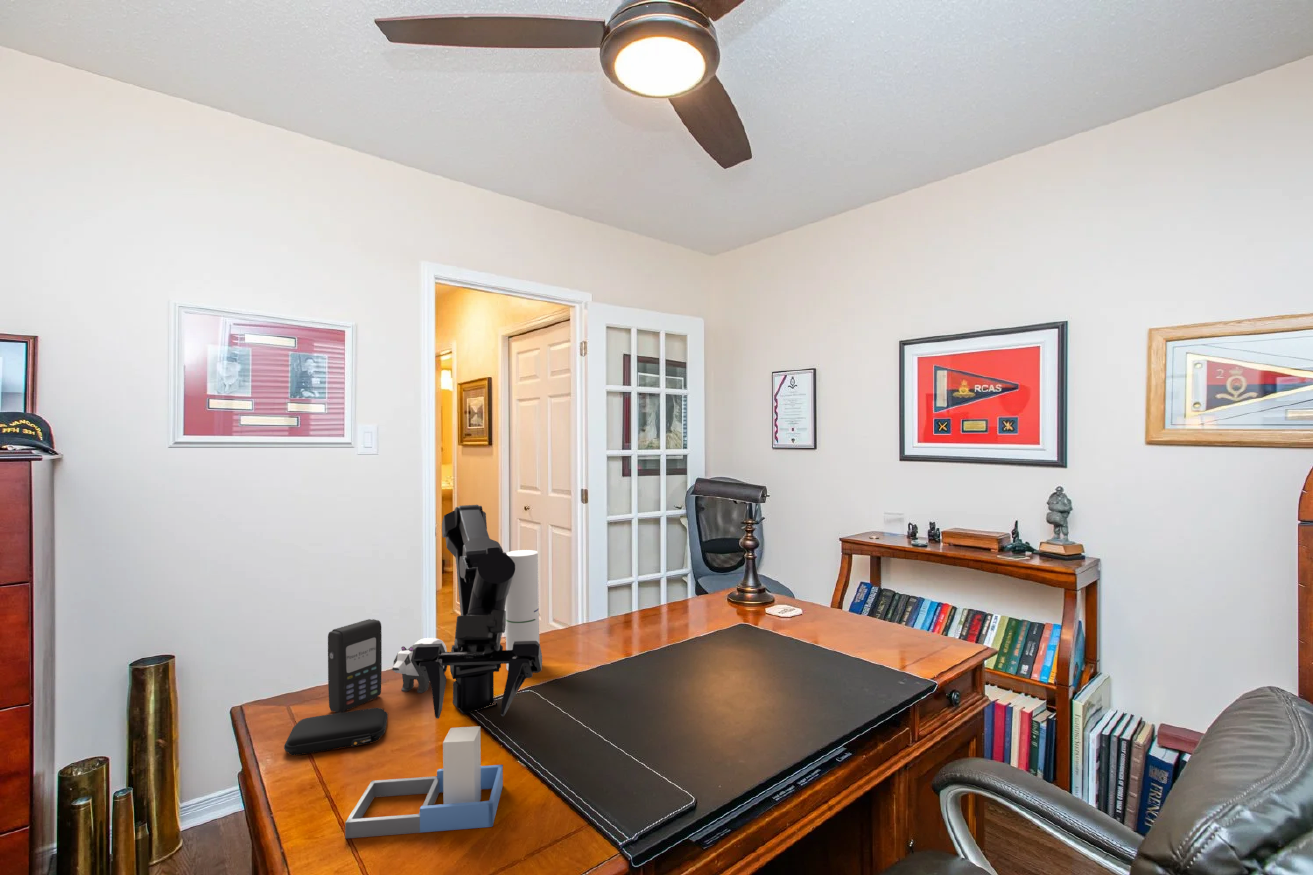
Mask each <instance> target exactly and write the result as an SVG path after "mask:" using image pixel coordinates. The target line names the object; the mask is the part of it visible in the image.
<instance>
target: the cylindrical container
mask: <svg viewBox="0 0 1313 875" xmlns="http://www.w3.org/2000/svg"><path fill="white" fill-rule="evenodd" d="M506 554H507V555H508V556H509V557H510V558H511V559H512V560H513V562H514V563H515V572H514V576H513V579H512V583H511V586H510V589H509V593H508V595H507V597H506V605H505V611H506V627H505V650H513V644H514V641H537V642H538V643H539V644H540V608H539V607H540V604H539V603H540V602H539V601H540V600H539V599H540V598H539V596H540V595H539V552H538V551H537V550H534V549H519V550H518V549H517V550H511V551H506ZM505 665H506V666H505V667H506V671H508V669H509V664H505Z"/></svg>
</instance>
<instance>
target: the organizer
mask: <svg viewBox="0 0 1313 875" xmlns="http://www.w3.org/2000/svg"><path fill="white" fill-rule="evenodd" d="M503 767H504V765H503V764H493V765H481V790H491V792H490V797H489V800H484V801H481V800H480V802H467V803H454V804H436V801H437V799H438V796H439V794H440V793H443V768H438V769H437V771H436V776H435V775H434V776H421V777H406V778H391V779H378V780H371V782H370V783H369V784H368V786H367V787H366V789H365V790H364V792H363V794H362V795H361V797H360V799H359V800H358V802H357V804H356V805H355V806H354V808H353V810H352V811H351V813H350V814H349V816H348V817H347V819H346V820H345V822H344V830H345V831H344V832H345V833H344V835H345V838H344V839H355V838H367V837H369V838H370V837H380V836H381V837H382V836H395V835H405V834H419V833H431V832H444V831H454V830H455V831H456V830H468V829H478V828H479V829H481V828H491V827H493V826H494V822H495V818H496V814H497V810H498V806H499V803H500V800H501V799H500V798H501V795H502V791H503V786H504V772H503V771H504V768H503ZM422 794H423V795H425V794H427V795H426V797H425V800H424V802H423V804H422V805H421V806H420V807H419V812H418V813H416V814H401V815H388V816H375V817H364V815H365V813H366V811H367V810H368V809H369V807H370V805H371V803H372V802H373V800H374V798H382V797H395V796H396V797H397V796H410V795H422Z"/></svg>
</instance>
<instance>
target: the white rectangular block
mask: <svg viewBox="0 0 1313 875" xmlns="http://www.w3.org/2000/svg"><path fill="white" fill-rule="evenodd" d="M481 742H482V741H481V726H480V725H479V726H461V727H459V726H458V727H450V729H449V730H448V733H447V734H446V736H445V738H444V740H443V741H442V762H443V763H442V769H443V792H442V793H443V795H442V796H443V799H442V800H443V801H442V802H443V804H454V803H467V802H480V801H481V799H482V789H481V766H482V764H481V763H482V762H481V761H482V758H481V757H482V756H481V755H482V754H481V753H482V751H481V745H482V744H481Z"/></svg>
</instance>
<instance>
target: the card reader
mask: <svg viewBox="0 0 1313 875" xmlns="http://www.w3.org/2000/svg"><path fill="white" fill-rule="evenodd" d="M382 638H383V637H382V623H381V621H380V619H379V620H378V619H375V618H374V619H373V618H372V619H370V618H368V619H364V620H361V621H358V622H354V623H351V624H347V625H344V626H341V627H337V628H334V629H332V630H331V631H329V632H328V635H327V678H328V679H327V680H328V681H327V684H328V686H327V687H328V706H329V707H328V708H329V709H330V711H331V712H334V713H342V712H348V711H350V710H352V709H354V708H356V707H358V706H361V705H364V704H366V703H368V702H370V701H373V700H375V699H377V698H378V697H379V696H381V693H382V664H383V663H382V658H383V657H382V653H383V652H382Z"/></svg>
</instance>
